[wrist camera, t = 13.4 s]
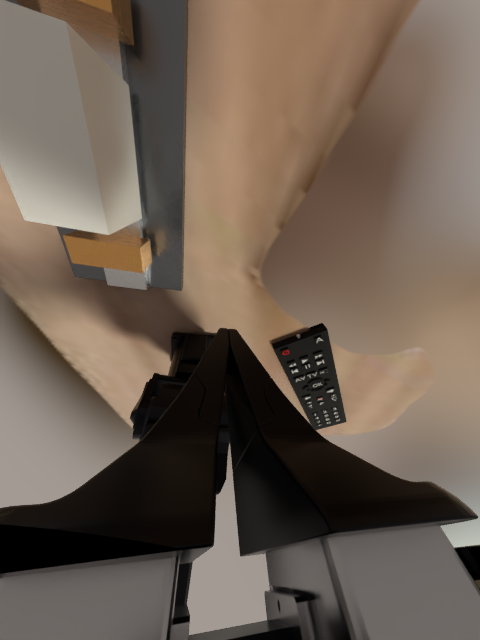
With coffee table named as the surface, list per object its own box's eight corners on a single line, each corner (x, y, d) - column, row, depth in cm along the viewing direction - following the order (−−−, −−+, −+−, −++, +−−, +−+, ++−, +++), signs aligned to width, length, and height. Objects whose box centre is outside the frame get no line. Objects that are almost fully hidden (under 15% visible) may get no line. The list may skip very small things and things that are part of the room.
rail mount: (182, 286, 21) (175, 307, 17) (80, 272, 19) (49, 293, 15) (189, -84, 9) (170, -245, 6) (-76, -213, 7) (-345, -568, 4)
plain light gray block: (142, 218, 15) (108, 234, 10) (85, 207, 14) (24, 220, 10) (128, 85, 11) (65, 21, 6) (48, 60, 10) (-84, -31, 6)
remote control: (322, 321, 26) (328, 330, 24) (342, 414, 44) (347, 423, 43) (270, 340, 28) (274, 350, 26) (311, 423, 46) (314, 432, 44)
